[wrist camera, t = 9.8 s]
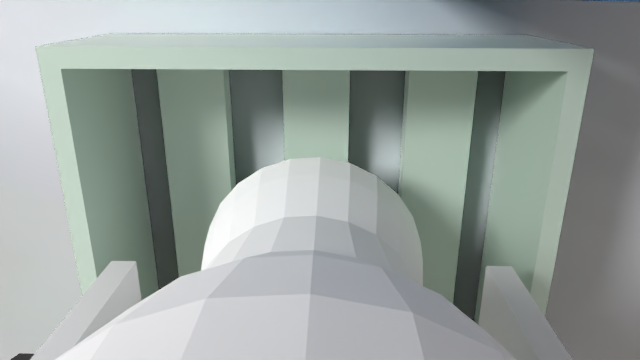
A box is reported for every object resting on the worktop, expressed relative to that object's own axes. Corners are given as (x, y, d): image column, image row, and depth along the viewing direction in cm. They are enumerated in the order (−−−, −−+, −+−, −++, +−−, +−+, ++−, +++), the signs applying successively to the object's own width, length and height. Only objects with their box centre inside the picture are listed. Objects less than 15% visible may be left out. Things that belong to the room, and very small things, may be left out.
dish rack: (110, 33, 19) (35, 46, 14) (527, 34, 18) (594, 48, 14) (156, 367, 24) (112, 459, 19) (480, 374, 23) (516, 468, 19)
